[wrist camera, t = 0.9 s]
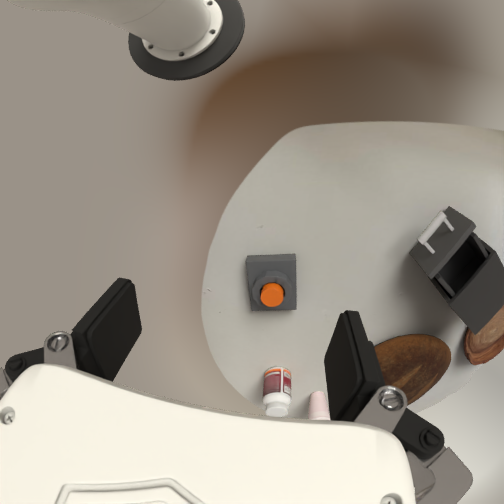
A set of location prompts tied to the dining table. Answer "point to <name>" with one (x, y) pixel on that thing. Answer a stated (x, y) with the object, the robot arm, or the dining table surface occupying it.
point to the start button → (272, 294)
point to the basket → (485, 340)
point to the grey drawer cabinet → (478, 293)
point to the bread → (413, 363)
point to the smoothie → (318, 407)
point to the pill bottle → (277, 391)
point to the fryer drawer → (450, 250)
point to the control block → (272, 279)
